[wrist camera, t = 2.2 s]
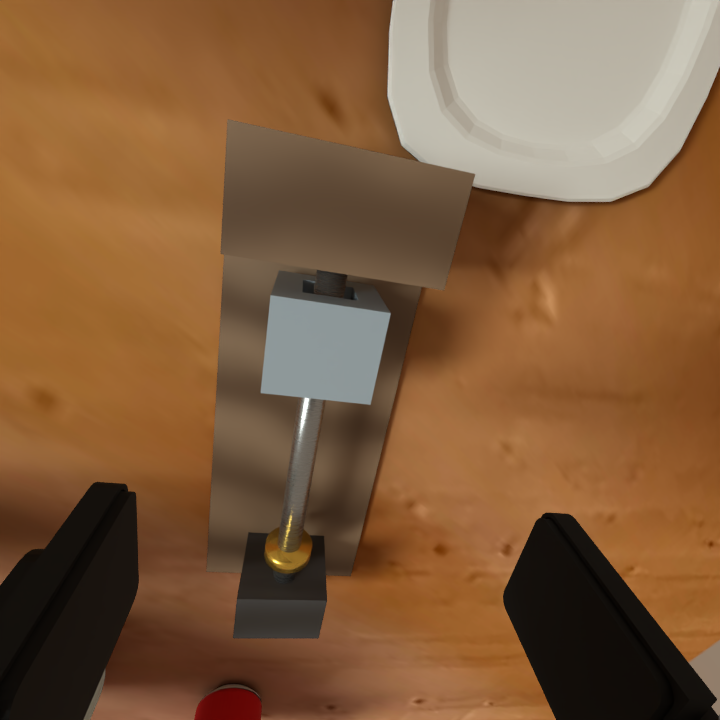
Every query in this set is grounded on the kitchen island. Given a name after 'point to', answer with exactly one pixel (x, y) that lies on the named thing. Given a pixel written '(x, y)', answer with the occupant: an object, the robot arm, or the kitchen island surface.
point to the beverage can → (230, 704)
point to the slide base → (248, 339)
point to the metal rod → (300, 470)
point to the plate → (551, 89)
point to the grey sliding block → (323, 341)
